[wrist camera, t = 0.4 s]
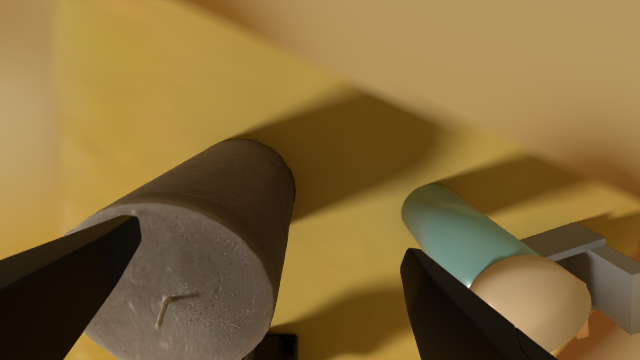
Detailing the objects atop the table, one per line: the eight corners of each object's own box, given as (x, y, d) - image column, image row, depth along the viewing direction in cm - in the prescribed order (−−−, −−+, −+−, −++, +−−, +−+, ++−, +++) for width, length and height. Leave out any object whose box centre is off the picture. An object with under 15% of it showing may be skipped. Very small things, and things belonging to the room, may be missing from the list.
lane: (457, 322, 31) (493, 380, 25) (441, 266, 28) (478, 315, 22) (578, 285, 30) (647, 336, 24) (574, 222, 27) (651, 261, 21)
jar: (452, 236, 27) (568, 358, 15) (396, 235, 27) (468, 359, 15) (464, 183, 25) (609, 273, 13) (404, 181, 25) (494, 272, 13)
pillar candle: (313, 167, 24) (314, 277, 10) (270, 250, 27) (223, 429, 13) (211, 118, 23) (40, 166, 8) (175, 211, 25) (1, 367, 11)
